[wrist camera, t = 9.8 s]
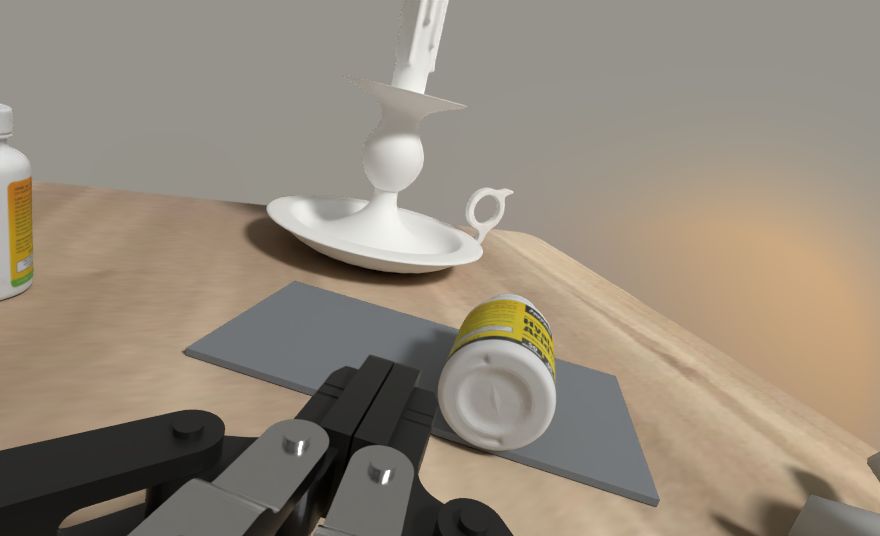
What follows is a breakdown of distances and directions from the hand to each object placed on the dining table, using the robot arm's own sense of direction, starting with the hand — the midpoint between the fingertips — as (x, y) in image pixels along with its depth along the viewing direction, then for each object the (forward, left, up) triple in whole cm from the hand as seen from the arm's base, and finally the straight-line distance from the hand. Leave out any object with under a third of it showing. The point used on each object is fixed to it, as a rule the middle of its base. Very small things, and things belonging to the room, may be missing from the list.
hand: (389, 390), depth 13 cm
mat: (+14, 0, -7) cm, 16 cm away
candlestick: (+34, +8, -7) cm, 36 cm away
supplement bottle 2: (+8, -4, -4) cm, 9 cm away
